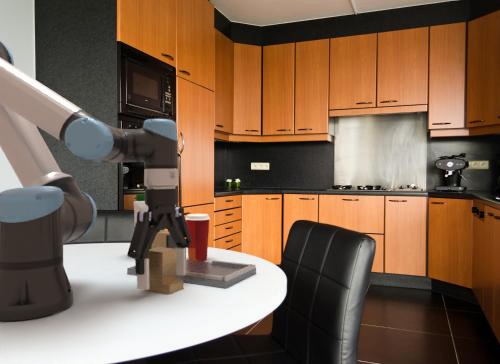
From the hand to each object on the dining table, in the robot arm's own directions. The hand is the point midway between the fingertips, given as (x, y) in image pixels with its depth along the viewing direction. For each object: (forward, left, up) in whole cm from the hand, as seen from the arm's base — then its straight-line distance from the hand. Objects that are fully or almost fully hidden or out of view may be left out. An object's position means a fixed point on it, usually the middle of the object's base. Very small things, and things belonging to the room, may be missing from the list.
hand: (162, 281), depth 90 cm
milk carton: (+27, +28, -2) cm, 39 cm away
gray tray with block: (+15, +2, -2) cm, 15 cm away
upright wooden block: (0, 0, -2) cm, 2 cm away
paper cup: (+30, +11, -2) cm, 32 cm away
